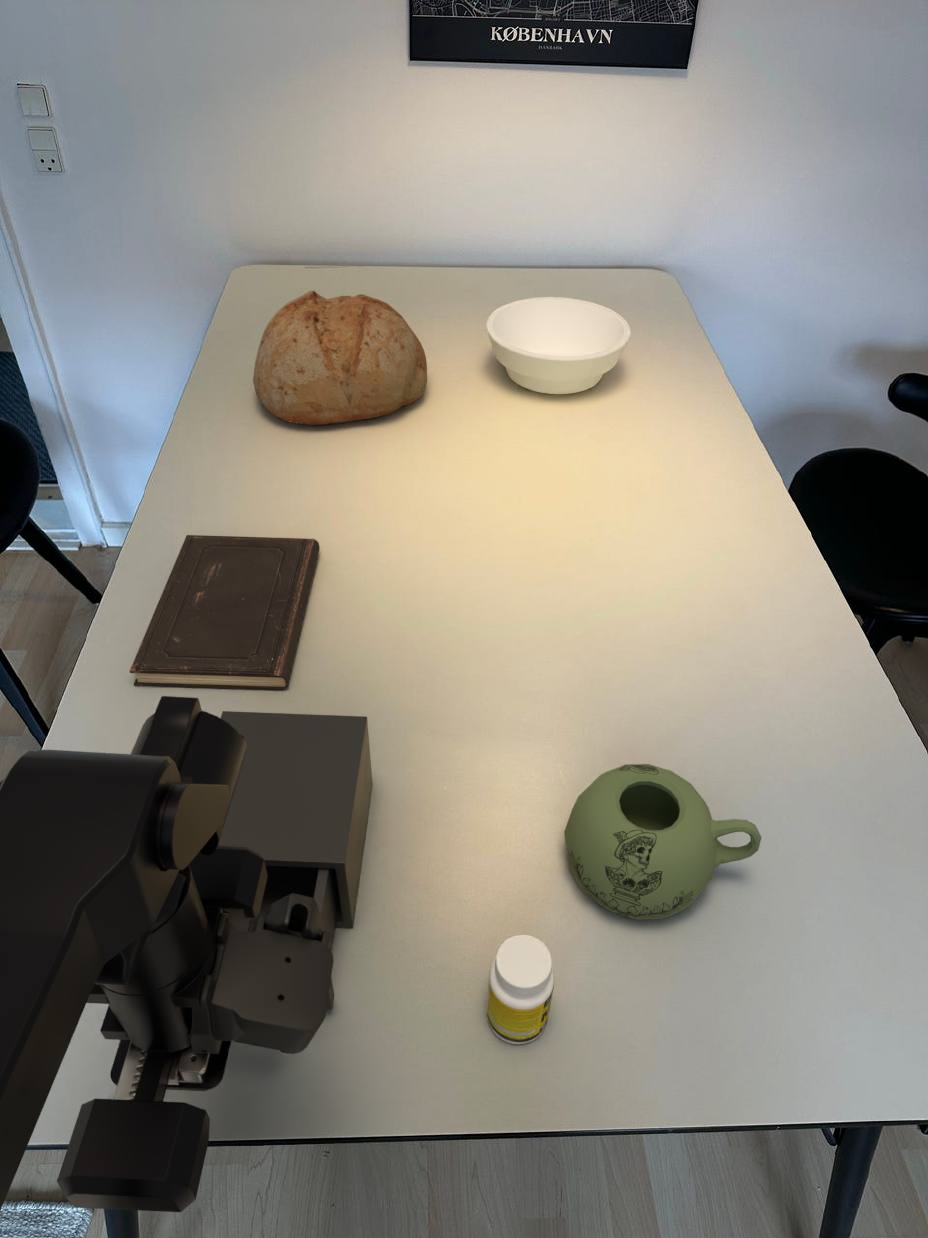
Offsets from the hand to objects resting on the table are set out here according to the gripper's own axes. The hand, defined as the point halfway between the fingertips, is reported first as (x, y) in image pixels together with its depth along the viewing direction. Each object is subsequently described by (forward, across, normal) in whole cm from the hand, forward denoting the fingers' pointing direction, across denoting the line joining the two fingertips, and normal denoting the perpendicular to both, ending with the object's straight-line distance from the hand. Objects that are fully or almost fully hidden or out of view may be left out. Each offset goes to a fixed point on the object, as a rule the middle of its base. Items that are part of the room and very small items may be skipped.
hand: (204, 1068), depth 54 cm
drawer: (+11, +13, 0) cm, 17 cm away
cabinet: (+12, +23, 0) cm, 26 cm away
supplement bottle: (+12, +9, -20) cm, 25 cm away
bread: (+12, +104, +6) cm, 105 cm away
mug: (+12, +23, -32) cm, 41 cm away
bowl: (+12, +113, -26) cm, 117 cm away
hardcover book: (+12, +53, +12) cm, 56 cm away
